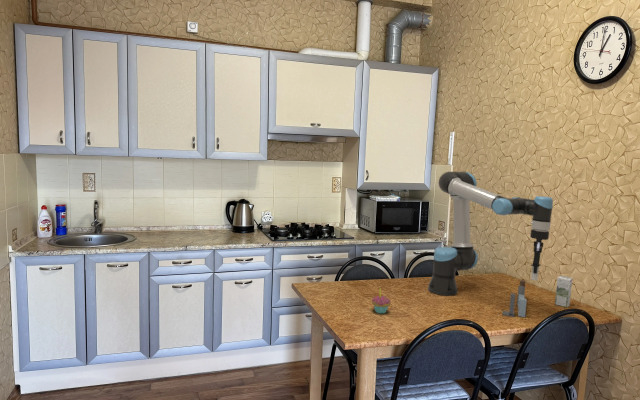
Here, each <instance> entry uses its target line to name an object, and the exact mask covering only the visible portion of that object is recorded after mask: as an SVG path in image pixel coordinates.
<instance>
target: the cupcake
mask: <svg viewBox="0 0 640 400" xmlns="http://www.w3.org/2000/svg"><path fill="white" fill-rule="evenodd" d="M371 304H372V305H373V307H374V311H375V313H377V314H386V313H387V310H388V308H389V307H390V306H391V300H390V299H389V298H388V297H387V296H385V295H382V288H381V287H379V295H377V296H374V297H373V298H372V299H371Z"/></svg>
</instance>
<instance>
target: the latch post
mask: <svg viewBox="0 0 640 400" xmlns="http://www.w3.org/2000/svg"><path fill="white" fill-rule="evenodd" d="M515 301H516V293H513V292H511V293H510V301H509V311H507V310H502V313H501V315H502V316H506V317H511V318H514V317H515V312H514V311H515V303H516V302H515Z"/></svg>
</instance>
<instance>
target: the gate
mask: <svg viewBox="0 0 640 400" xmlns="http://www.w3.org/2000/svg"><path fill="white" fill-rule="evenodd" d="M525 291H526V286H525V287H524V286H520V285H518V288H517V297H516V298H517V299H516V305H517V309H518V311H517V317H520V318H521V317H522V318H526V312H527V311H526V310H527V301H528V300H527V299H528V298H527V299H526V297H525V293H526V292H525Z"/></svg>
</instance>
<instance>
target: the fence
mask: <svg viewBox="0 0 640 400" xmlns="http://www.w3.org/2000/svg"><path fill="white" fill-rule="evenodd" d="M519 286H524V287H525V288H526V280H523V279H520V280H519Z"/></svg>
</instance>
